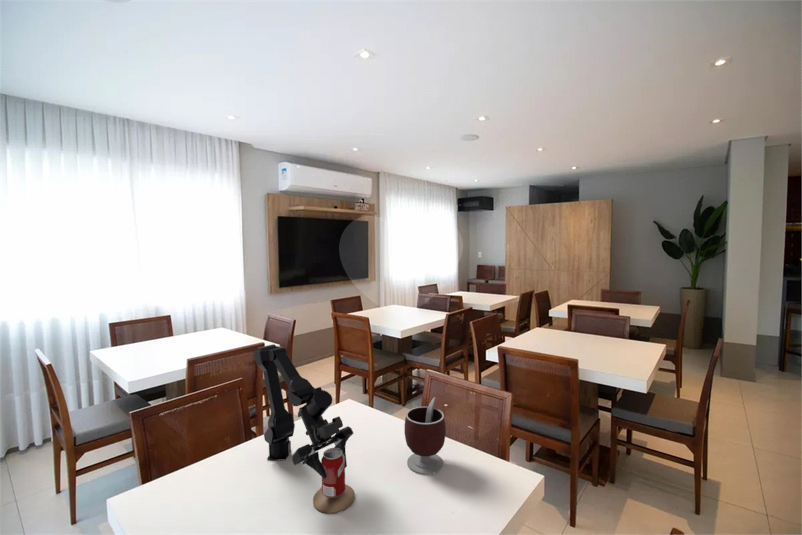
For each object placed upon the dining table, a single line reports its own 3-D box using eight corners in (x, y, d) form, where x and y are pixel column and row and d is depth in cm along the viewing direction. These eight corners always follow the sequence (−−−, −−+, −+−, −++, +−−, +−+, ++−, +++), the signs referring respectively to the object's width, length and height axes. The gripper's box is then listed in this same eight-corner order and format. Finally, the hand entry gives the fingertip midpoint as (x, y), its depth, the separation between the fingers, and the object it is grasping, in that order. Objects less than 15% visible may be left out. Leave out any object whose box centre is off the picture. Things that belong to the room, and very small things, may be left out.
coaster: (307, 513, 103) (307, 510, 102) (319, 485, 115) (319, 482, 114) (350, 514, 102) (350, 511, 102) (357, 486, 114) (357, 483, 114)
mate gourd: (436, 481, 116) (435, 419, 115) (397, 469, 123) (396, 410, 121) (453, 456, 130) (453, 400, 128) (417, 446, 136) (417, 393, 135)
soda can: (333, 503, 104) (333, 462, 103) (317, 494, 107) (316, 454, 107) (350, 490, 109) (349, 451, 108) (333, 481, 113) (332, 444, 112)
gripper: (296, 421, 103) (319, 477, 96) (349, 401, 116) (373, 448, 109) (283, 438, 109) (303, 491, 102) (335, 417, 122) (356, 462, 115)
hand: (335, 472), depth 107 cm, fingers closed on soda can, 7 cm apart
